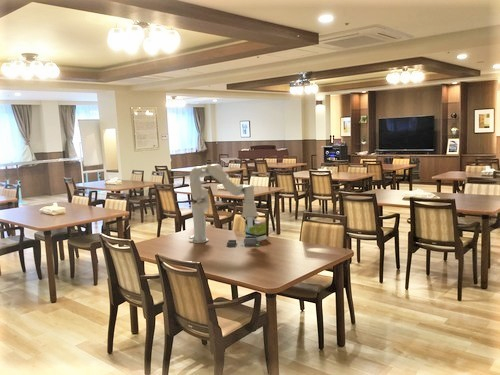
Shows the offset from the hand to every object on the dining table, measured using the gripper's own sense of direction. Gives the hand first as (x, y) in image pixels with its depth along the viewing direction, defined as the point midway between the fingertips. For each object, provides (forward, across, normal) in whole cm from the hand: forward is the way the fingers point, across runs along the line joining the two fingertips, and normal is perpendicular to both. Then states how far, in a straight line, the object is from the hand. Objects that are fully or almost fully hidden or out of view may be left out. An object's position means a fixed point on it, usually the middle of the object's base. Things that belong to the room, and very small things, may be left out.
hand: (250, 225), depth 335 cm
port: (+15, -1, 0) cm, 15 cm away
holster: (+15, -15, -3) cm, 21 cm away
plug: (+1, 0, 0) cm, 1 cm away
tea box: (+16, +2, +18) cm, 24 cm away
